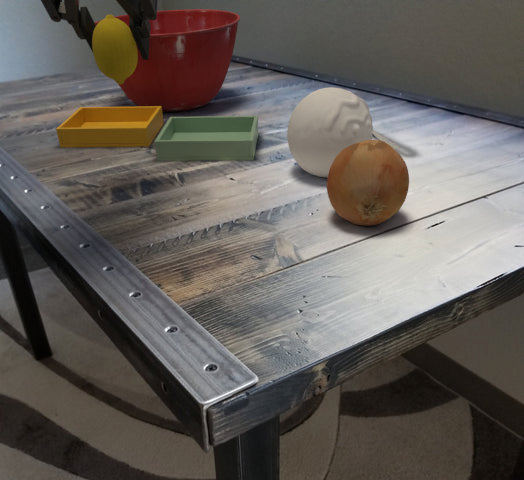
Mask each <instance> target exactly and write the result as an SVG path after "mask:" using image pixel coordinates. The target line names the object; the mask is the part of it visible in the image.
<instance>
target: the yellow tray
mask: <svg viewBox="0 0 524 480" xmlns="http://www.w3.org/2000/svg"><path fill="white" fill-rule="evenodd" d="M163 113H164V112H162V106H138V105H136V106H80V107H78V109H77V110H75V111H74V112H73V113H72V114H71V115H70V116H68V117H67V118H66V119H65V120H64V121H63V122H62V123H61V124H60V125H59V126H57V127H56V128H55V131H56V135H57V139H58V143H59V147H60V148H135V147H136V148H138V147H139V148H142V147H143V148H145V147H150V145H151V144H152V143H153V141H154V140H155V139H156V136H158V133H160V131H161V130H162V128H163V126H164V125H165V122H164V114H163Z"/></svg>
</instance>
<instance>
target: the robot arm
mask: <svg viewBox="0 0 524 480" xmlns="http://www.w3.org/2000/svg"><path fill="white" fill-rule="evenodd" d="M115 1H116V2H117V4H118V5H119V6H120V7H121V8H122V10H123V11H124V12H125V13H126V15H128V16H129V28H130V30H131V32H132V35H133V37H134V40H135V42H136V44H137V47H138V49H139V52H140V54H141V56H142V59H143V60H149V44H150V41H149V38H150V30H151V25H150V22H149V20H156V18H157V11H158V2H159V1H158V0H115ZM40 2H41V3H42V5H43V7H44V9H45V11H46V13H47V15H48V16H49V18H50V20H51V21H52V22H55V23H60V22H61V21H66V22H67V24H68V25H70V26H71V28H72V29H73V30H74V32H75V34H76V36H77V38H79V39H80V40H85V41H86V43H87V45H88V47H89V49H90V50H91V52H92V53H93V49H92V37H93V31H94V29H95V27H96V25H95V21H94V19H93V16H92V15H91V13H90V11H89V9H88V7H87V6H80V0H40Z"/></svg>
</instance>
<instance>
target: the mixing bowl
mask: <svg viewBox="0 0 524 480" xmlns="http://www.w3.org/2000/svg"><path fill="white" fill-rule="evenodd" d="M114 17H115V18H117V19H119V20H121V21H123V22H124V23H125V24H126V25H127V26H128V27H129V16H128V14H123V15H117V16H114ZM101 20H102V19H100V20H97V21H94V23H95V25H97V24H98V23H99V22H100V21H101ZM240 20H241V16H240V15H239V14H237V13H236V12H232V11H228V10H221V9H206V8H205V9H204V8H203V9H201V8H199V9H197V8H196V9H195V8H193V9H191V8H190V9H169V10H167V9H166V10H157V18H156V20H149V22H150V25H151V30H150V38H149V41H150V44H149V60H143V59H142V56H141V54H140V52H139V49H138V47H137V52H138V60H137V66H136V69H135V70H134V72H133V73H132V74H131V75H130V76H129V77H127V78H126V79H125V81H124V83H123V84H118V83H117V85H118V87H120V89H121V91H122V92H123V93H124V94H125V96H126V97H127V99H128V100H130V101H131V102H132V103H133V104H134V105H136V106H162V113H172V112H173V113H175V112H176V113H177V112H185V111H190V110H191V111H192V110H195V109H199V108H202V107H204V106H206V105H207V104H209V103H210V102H211V101H212V100H213V99H215V98H216V96H218V94H219V92H220V91H221V89H222V87H223V84H224V82H225V80H226V77H227V74H228V71H229V68H230V65H231V61H232V58H233V53H234V49H235V45H236V39H237V32H238V26H239V23H240ZM136 45H137V44H136Z"/></svg>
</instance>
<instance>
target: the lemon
mask: <svg viewBox="0 0 524 480" xmlns="http://www.w3.org/2000/svg"><path fill="white" fill-rule="evenodd" d="M115 17H116V16H114V15H113V14H110V13H109V14H106V16H105V17H104V18H103V19H100V20H101V21H100V20H99V21H100V22H99V23H98V24H97V25H96V27H95V29H94V31H93V37H92V49H93V52H92V54H93V58H94V62H95V64H96V66H97V67H98V69H99V71H100V72H101V73H102V74H103V75H104V76H105V77H107V78H109V79H111V80H113V81H114V82H115V83H116V84H117V85H118V84H123V83H124V81H125V79H126V78H127V77H129V76H130V75H131V74H132V73H133V72H134V70H135V69H136V66H137V60H138V52H137V45H136V42H135V40H134V37H133V35H132V32H131V30H130V28H129V27H128V26H127V25H126V24H125V23H124V22H123V21H121V20H119V19H117V18H115Z"/></svg>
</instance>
